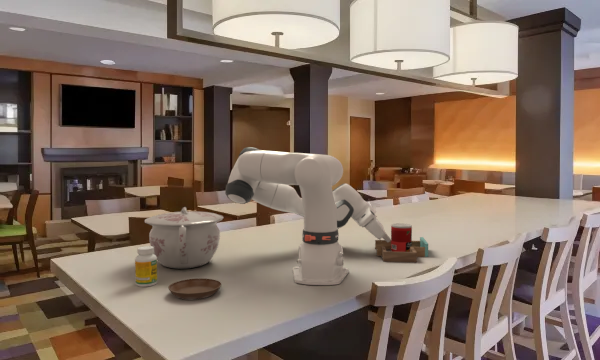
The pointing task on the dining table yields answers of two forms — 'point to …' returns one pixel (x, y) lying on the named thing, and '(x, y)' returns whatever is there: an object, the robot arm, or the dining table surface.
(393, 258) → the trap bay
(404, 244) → the canned food
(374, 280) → the dining table surface
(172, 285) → the saucer
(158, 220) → the chamber pot
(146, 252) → the supplement bottle
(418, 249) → the brown wooden tray
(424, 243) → the end stop
